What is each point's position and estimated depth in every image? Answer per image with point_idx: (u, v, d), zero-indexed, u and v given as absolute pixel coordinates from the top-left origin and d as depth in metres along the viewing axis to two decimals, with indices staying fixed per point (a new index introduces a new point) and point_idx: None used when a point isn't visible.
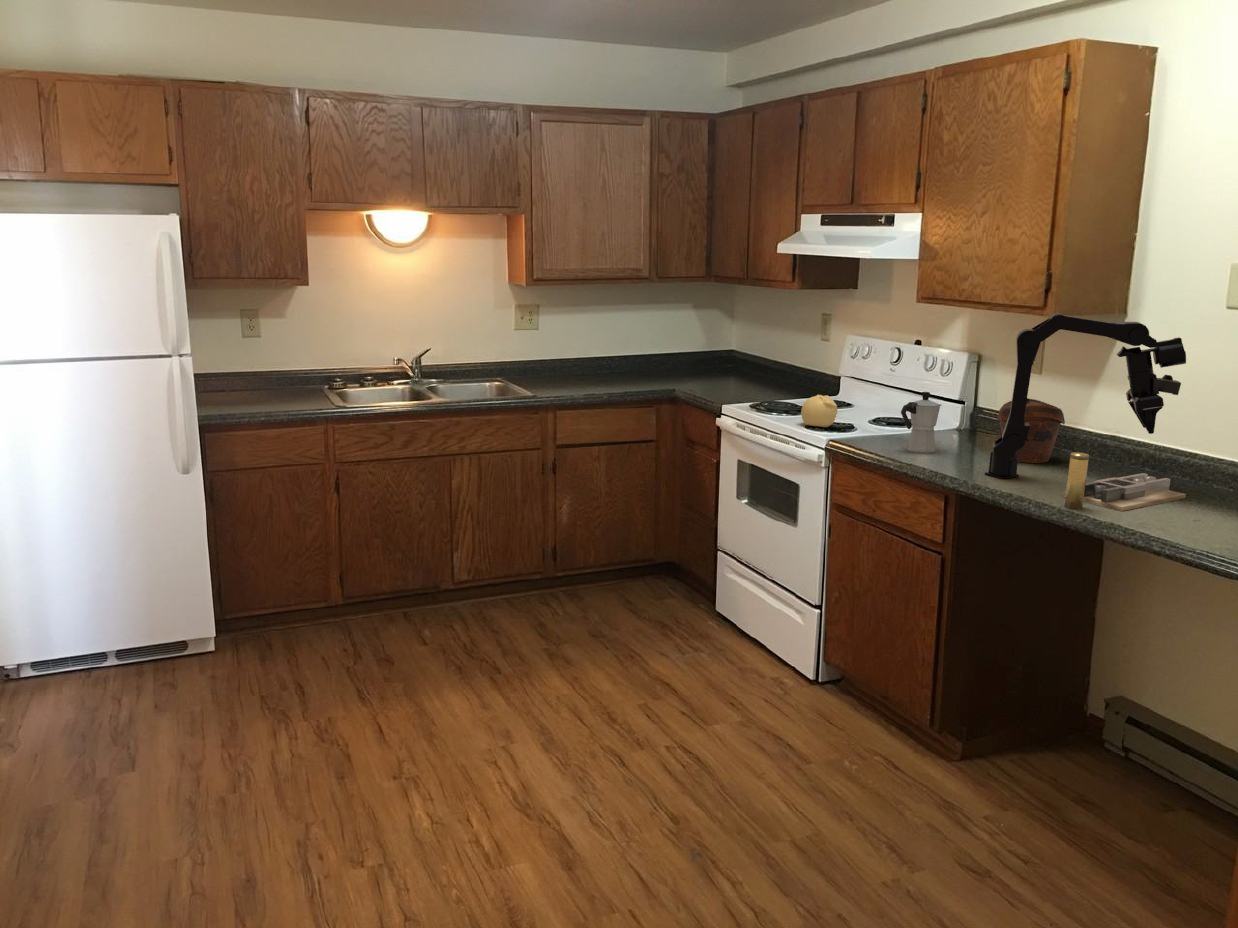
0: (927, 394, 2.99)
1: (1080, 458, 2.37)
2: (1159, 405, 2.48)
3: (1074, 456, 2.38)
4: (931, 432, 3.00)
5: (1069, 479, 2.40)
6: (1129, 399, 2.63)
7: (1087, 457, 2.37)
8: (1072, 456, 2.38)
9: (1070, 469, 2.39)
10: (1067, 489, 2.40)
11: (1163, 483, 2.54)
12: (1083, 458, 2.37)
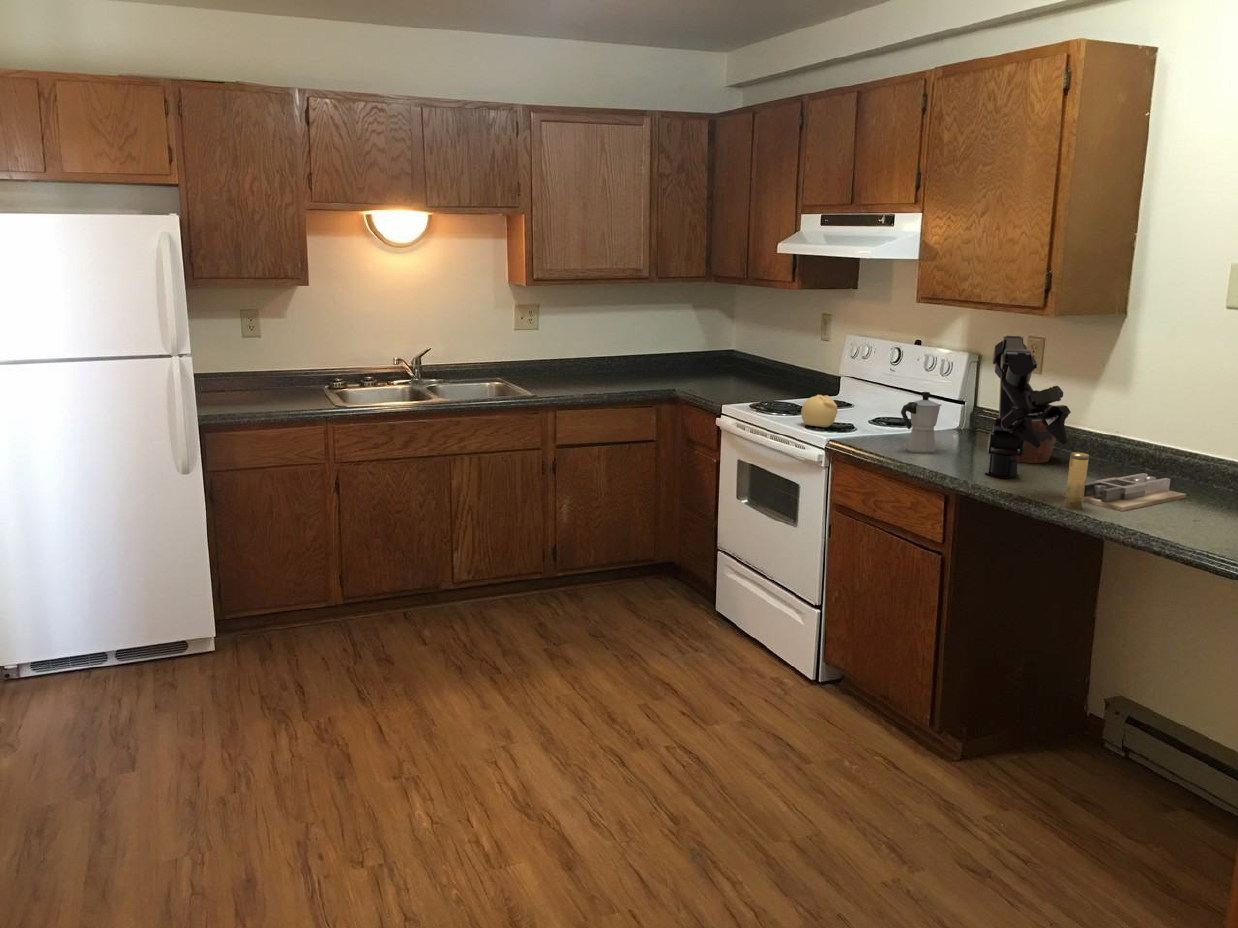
0: (927, 394, 2.99)
1: (1080, 458, 2.37)
2: (1015, 417, 2.43)
3: (1074, 456, 2.38)
4: (931, 432, 3.00)
5: (1069, 479, 2.40)
6: (1045, 424, 2.54)
7: (1087, 457, 2.37)
8: (1072, 456, 2.38)
9: (1070, 469, 2.39)
10: (1067, 489, 2.40)
11: (1163, 483, 2.54)
12: (1083, 458, 2.37)
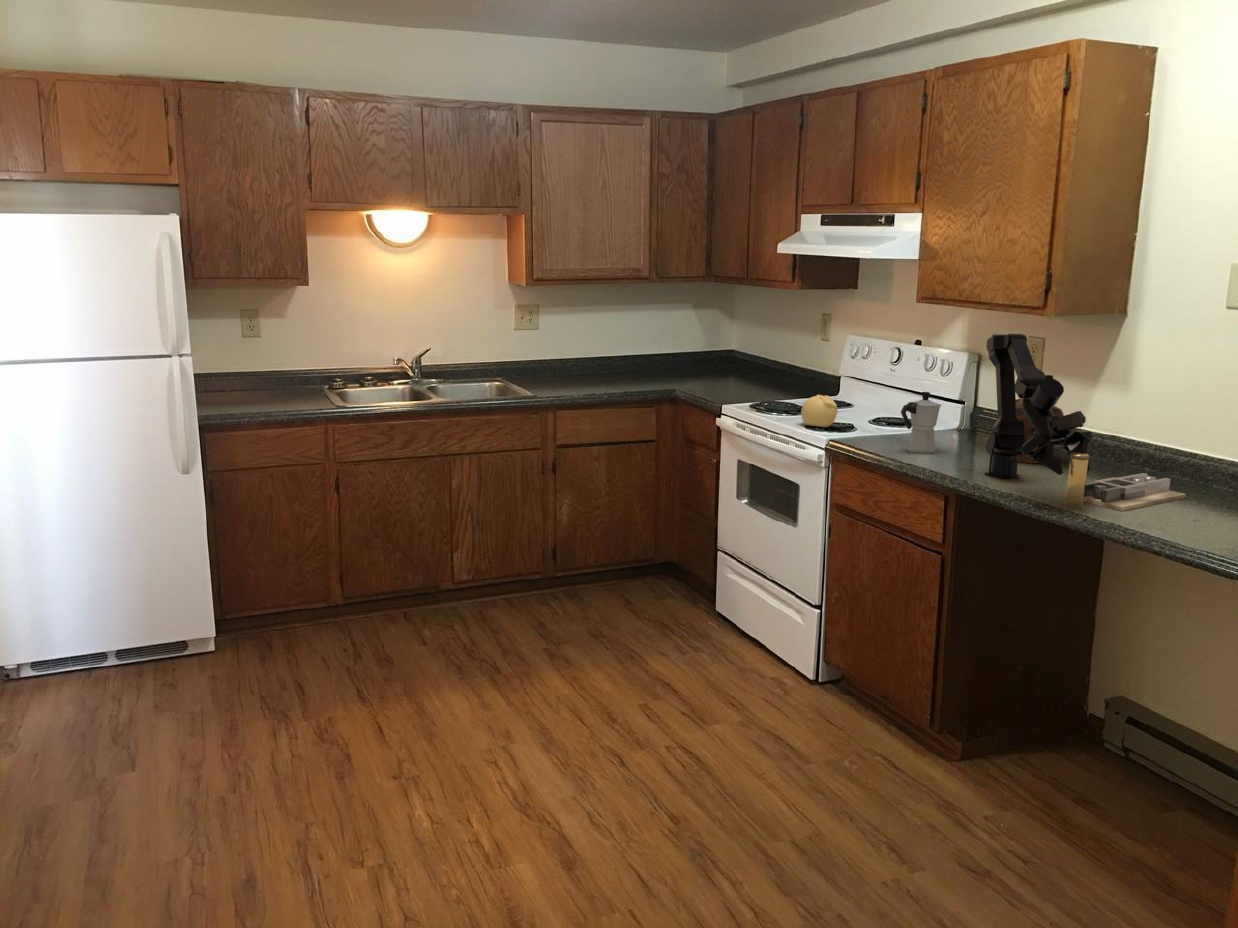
0: (927, 394, 2.99)
1: (1080, 458, 2.37)
2: (1036, 443, 2.38)
3: (1074, 456, 2.38)
4: (931, 432, 3.00)
5: (1069, 479, 2.40)
6: (1067, 450, 2.48)
7: (1087, 457, 2.37)
8: (1072, 456, 2.38)
9: (1070, 469, 2.39)
10: (1067, 489, 2.40)
11: (1163, 483, 2.54)
12: (1083, 458, 2.37)
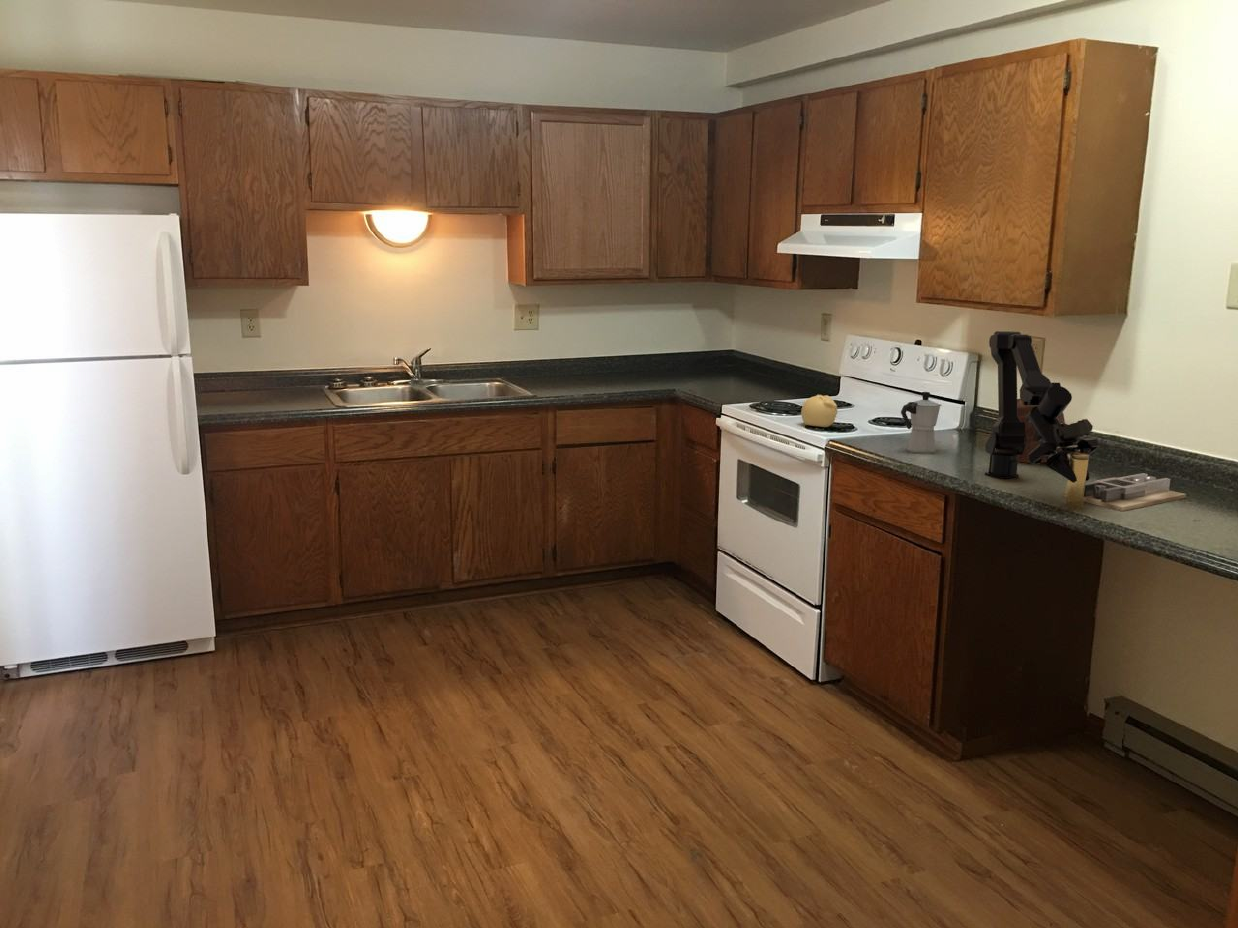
0: (927, 394, 2.99)
1: (1080, 458, 2.37)
2: (1043, 452, 2.37)
3: (1074, 456, 2.38)
4: (931, 432, 3.00)
5: None
6: None
7: (1087, 457, 2.37)
8: (1072, 456, 2.38)
9: None
10: (1067, 489, 2.40)
11: (1163, 483, 2.54)
12: (1083, 458, 2.37)
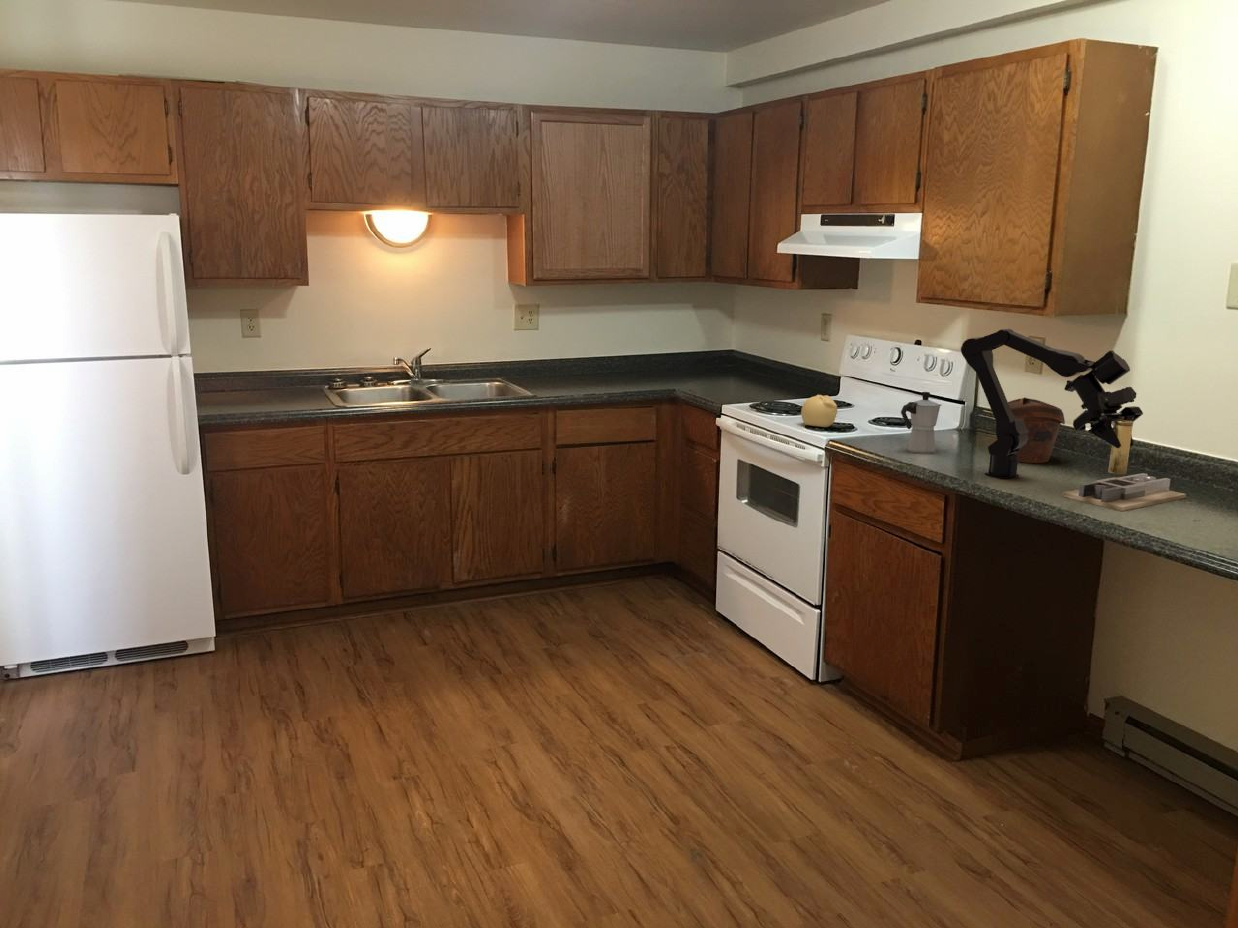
0: (927, 394, 2.99)
1: (1125, 424, 2.44)
2: (1088, 418, 2.44)
3: (1118, 422, 2.44)
4: (931, 432, 3.00)
5: None
6: None
7: (1131, 423, 2.44)
8: (1116, 422, 2.45)
9: None
10: (1112, 455, 2.47)
11: (1163, 483, 2.54)
12: (1127, 424, 2.44)
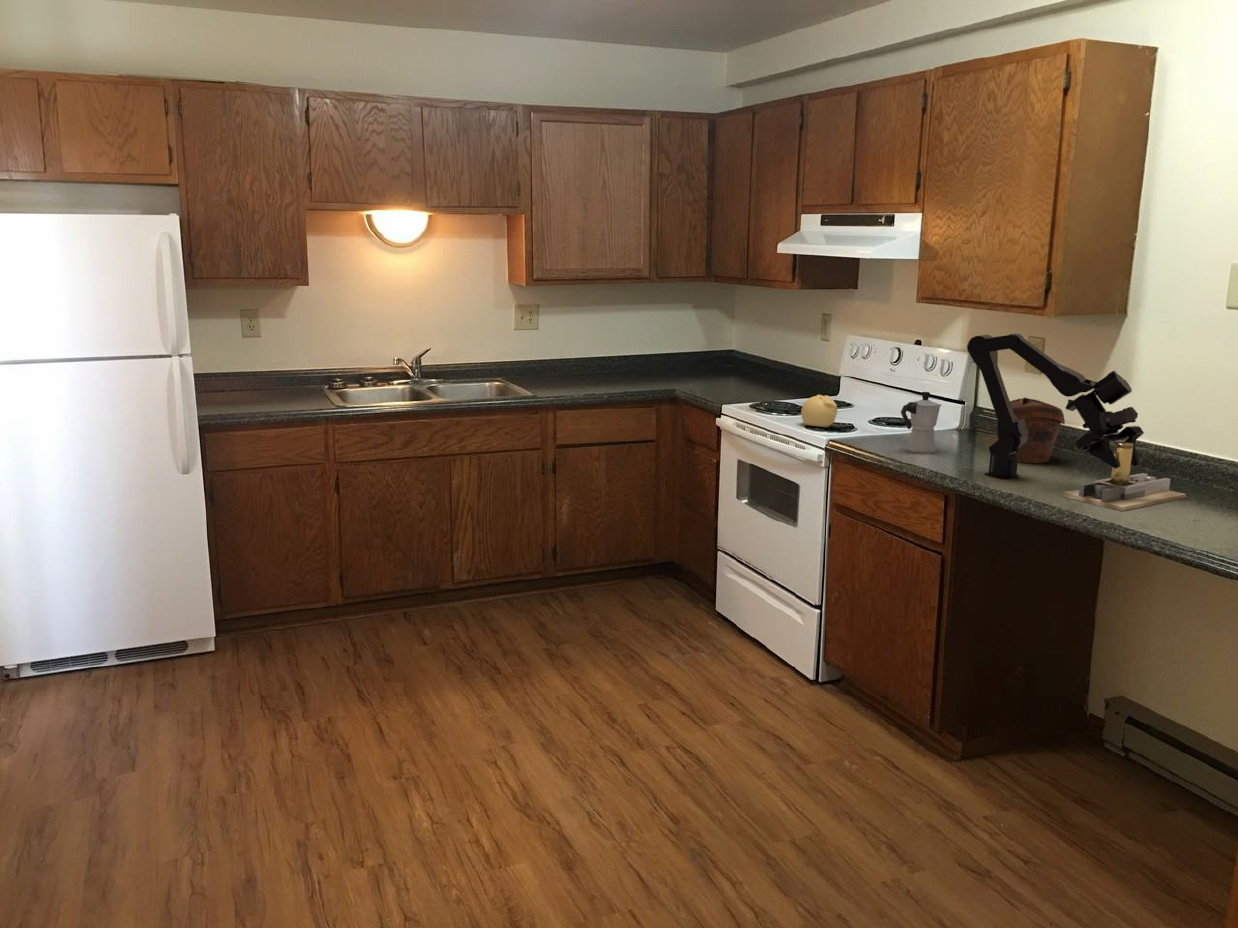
0: (927, 394, 2.99)
1: (1125, 446, 2.46)
2: (1090, 438, 2.46)
3: (1119, 445, 2.47)
4: (931, 432, 3.00)
5: None
6: None
7: (1132, 446, 2.46)
8: (1117, 445, 2.47)
9: (1115, 457, 2.48)
10: (1112, 477, 2.49)
11: (1163, 483, 2.54)
12: (1128, 447, 2.46)
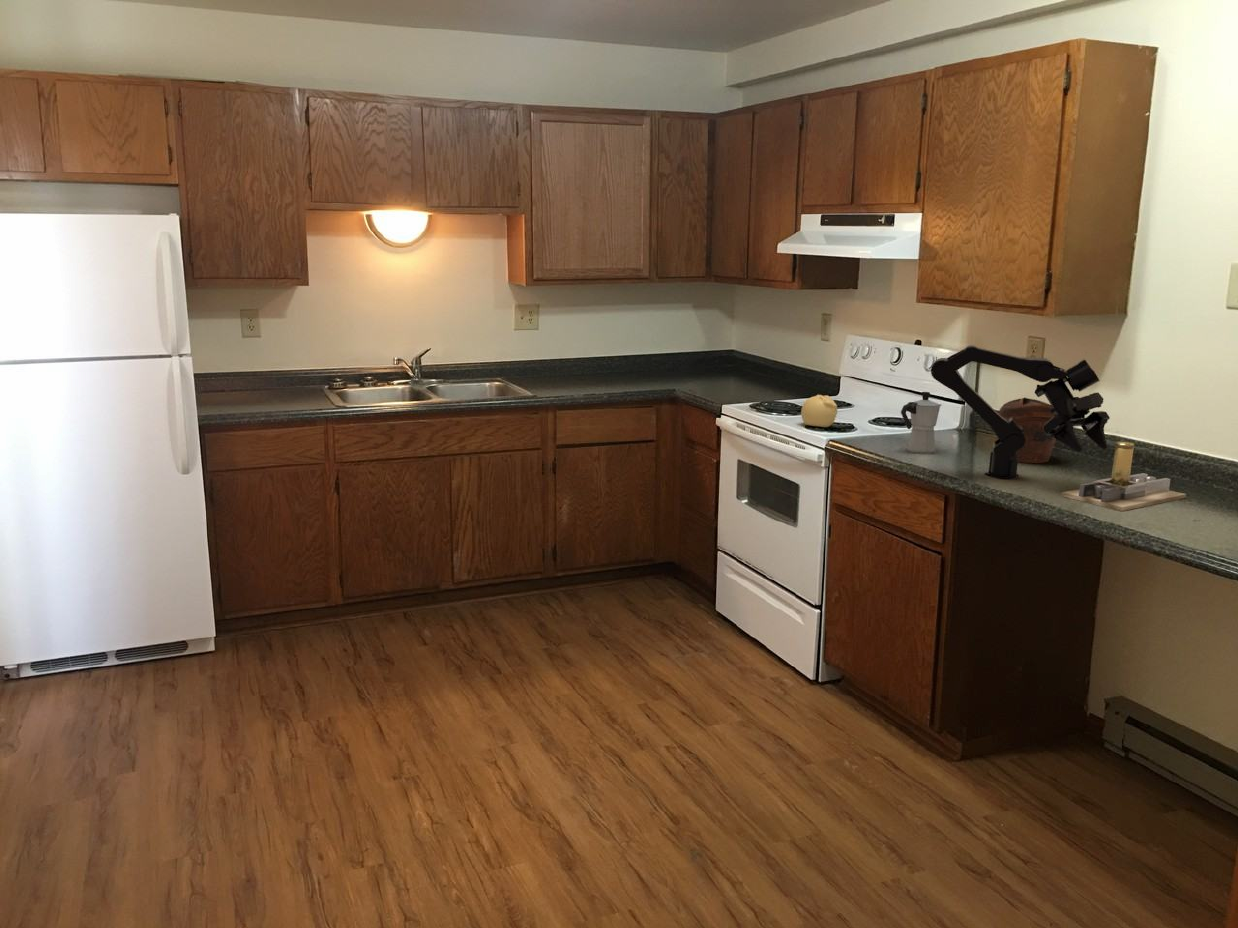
0: (927, 394, 2.99)
1: (1126, 447, 2.46)
2: (1057, 423, 2.53)
3: (1120, 445, 2.47)
4: (931, 432, 3.00)
5: (1115, 467, 2.48)
6: (1085, 429, 2.64)
7: (1132, 446, 2.46)
8: (1118, 445, 2.47)
9: (1116, 458, 2.48)
10: (1113, 477, 2.49)
11: (1163, 483, 2.54)
12: (1129, 447, 2.46)
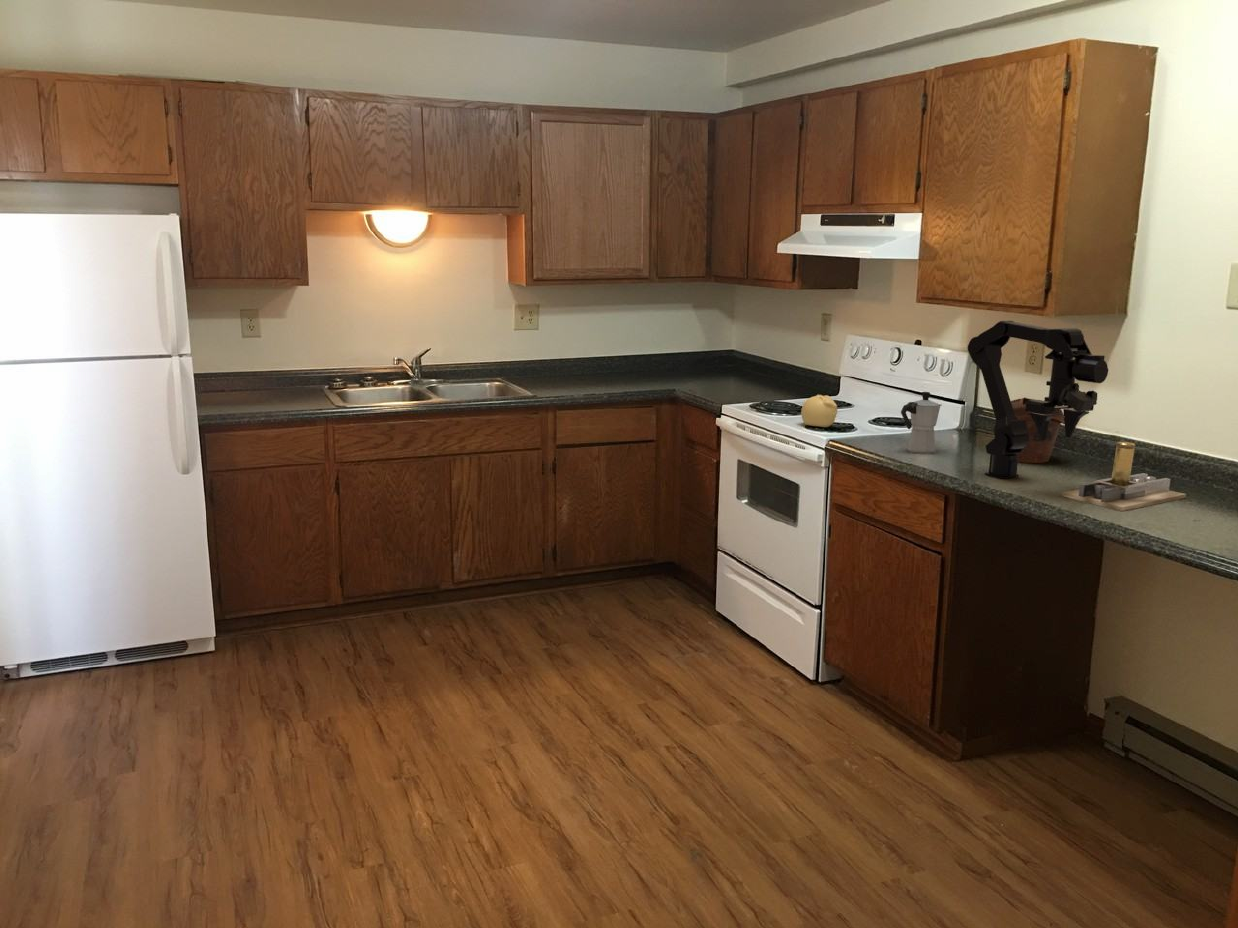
0: (927, 394, 2.99)
1: (1127, 447, 2.46)
2: (1039, 412, 2.50)
3: (1121, 445, 2.47)
4: (931, 432, 3.00)
5: (1115, 467, 2.48)
6: None
7: (1133, 446, 2.46)
8: (1119, 445, 2.47)
9: (1116, 457, 2.48)
10: (1113, 477, 2.49)
11: (1163, 483, 2.54)
12: (1130, 447, 2.46)
